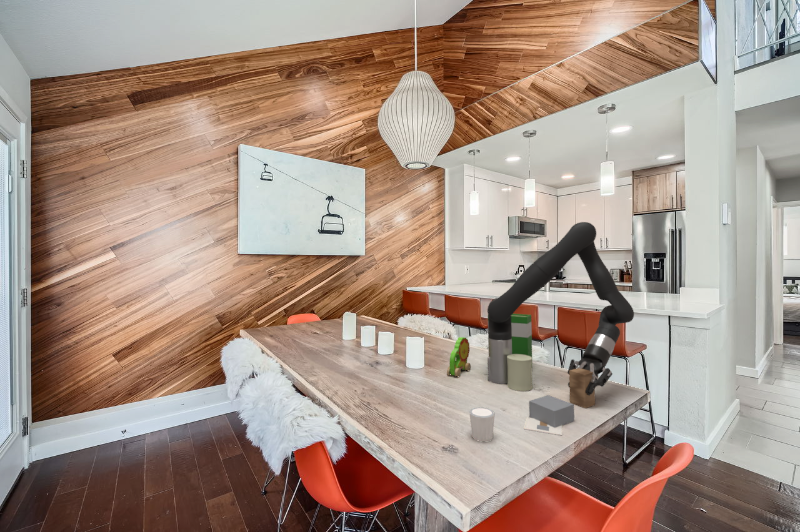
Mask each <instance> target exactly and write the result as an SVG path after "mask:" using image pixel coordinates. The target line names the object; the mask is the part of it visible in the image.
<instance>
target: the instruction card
mask: <svg viewBox="0 0 800 532" xmlns="http://www.w3.org/2000/svg"><path fill="white" fill-rule="evenodd" d="M525 418H526V419H525V423H524V427H523V429H524V430H528V431H533V432H539V433H546V434H550V435H555V434H556V435H557V436H561V435H562V436H563V426H562V425H561V426H558V427H556V428H554V427H552V426H550V425H547V424H546V423H543V422H541V421H539V420H536V419H534V418H531V417H529V416H526V417H525Z"/></svg>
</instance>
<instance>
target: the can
mask: <svg viewBox="0 0 800 532" xmlns="http://www.w3.org/2000/svg"><path fill="white" fill-rule="evenodd" d="M507 365H508V383H507V386H506V387H508V389H509V390H512V391H516V390H517V392H529V390H530V391H532V390H533V388H534V387H533V356H532V357H530V356H528V355H522V354H511V355H508V356H507Z"/></svg>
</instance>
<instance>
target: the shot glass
mask: <svg viewBox="0 0 800 532" xmlns="http://www.w3.org/2000/svg"><path fill="white" fill-rule="evenodd" d="M468 412H469V420H470V429H471V430H470V431H471V437H473V438H474V439H476V440H475V441H477V440H479V441H478V442H480V441H489V442H490V440H491V441H492V440H493V439H494V429H495V428H494V427H495V412H494V410H492V409H491V408H489V407H483V406H482V407H481V406H477V407H472V408H470V409H469V411H468ZM473 438H472V439H473ZM492 438H493V439H492Z"/></svg>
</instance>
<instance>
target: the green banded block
mask: <svg viewBox="0 0 800 532" xmlns="http://www.w3.org/2000/svg"><path fill="white" fill-rule="evenodd" d="M511 325H512V354H522V355H528V356H530V357H532V358H533V337H532V335H533V330H532V326H533V325H532V314H526V313H524V314H523V313H513V314H512V315H511ZM487 347H488V348H487V349H488V352H489V345H488V346H487Z"/></svg>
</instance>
